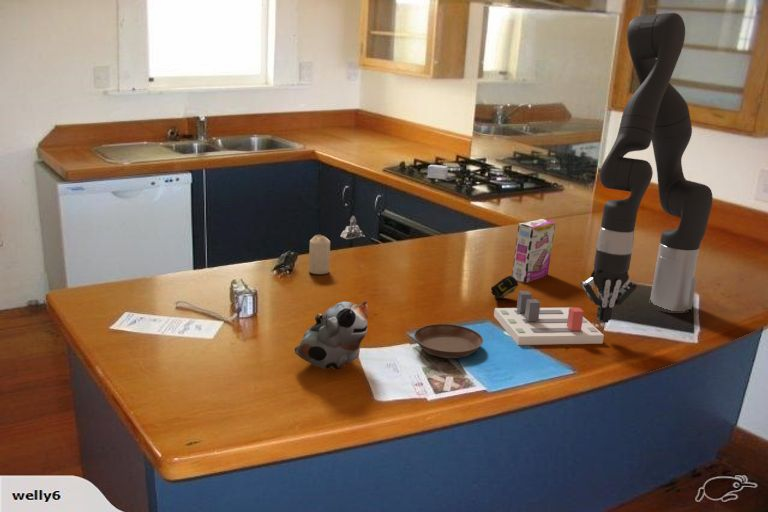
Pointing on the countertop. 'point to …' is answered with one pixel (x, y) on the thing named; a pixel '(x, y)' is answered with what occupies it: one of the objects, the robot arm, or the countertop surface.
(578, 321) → the block
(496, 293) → the tape measure
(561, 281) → the countertop surface
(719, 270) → the countertop surface
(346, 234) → the grey stone figurine
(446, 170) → the medicine box
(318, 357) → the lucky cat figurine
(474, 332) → the saucer
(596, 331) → the breaker panel
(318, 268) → the candle
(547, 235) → the candy bar box
